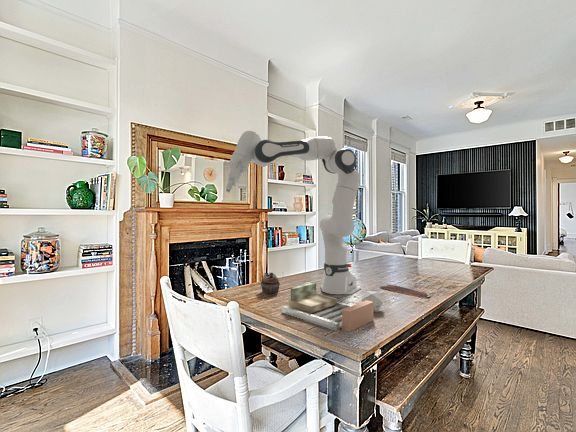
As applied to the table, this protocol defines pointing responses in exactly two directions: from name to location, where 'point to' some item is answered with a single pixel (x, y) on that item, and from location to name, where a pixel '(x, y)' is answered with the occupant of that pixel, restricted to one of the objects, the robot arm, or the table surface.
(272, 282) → the cupcake
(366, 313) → the block
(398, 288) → the wooden tablet
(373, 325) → the table surface
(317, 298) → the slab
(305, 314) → the roller track
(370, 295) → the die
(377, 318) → the table surface
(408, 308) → the table surface
